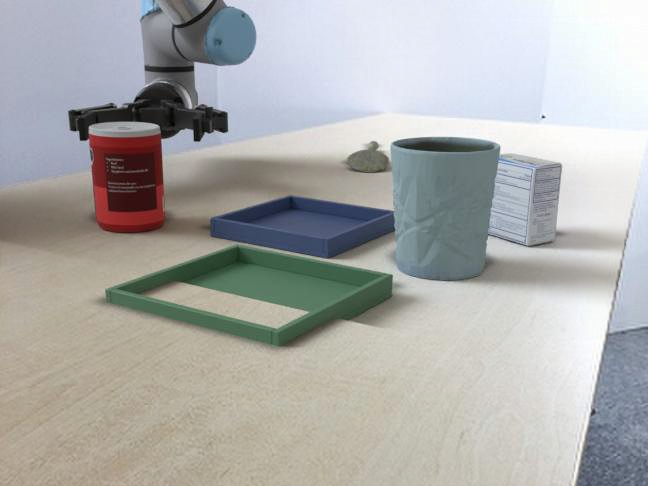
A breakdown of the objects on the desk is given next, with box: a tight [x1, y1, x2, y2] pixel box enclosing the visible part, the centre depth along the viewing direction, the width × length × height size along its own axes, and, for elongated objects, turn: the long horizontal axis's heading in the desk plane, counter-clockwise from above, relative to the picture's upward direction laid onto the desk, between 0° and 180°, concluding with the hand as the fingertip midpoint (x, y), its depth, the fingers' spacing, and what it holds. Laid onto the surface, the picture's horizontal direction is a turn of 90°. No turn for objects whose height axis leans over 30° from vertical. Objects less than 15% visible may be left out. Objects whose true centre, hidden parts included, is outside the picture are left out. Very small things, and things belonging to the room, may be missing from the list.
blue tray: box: [209, 194, 395, 259], centre depth 95 cm, size 15×15×2 cm
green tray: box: [104, 243, 394, 347], centre depth 72 cm, size 17×17×2 cm
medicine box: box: [488, 152, 563, 247], centre depth 94 cm, size 8×4×9 cm, turn 34°
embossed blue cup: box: [389, 136, 501, 281], centre depth 81 cm, size 10×10×12 cm
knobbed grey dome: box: [346, 140, 390, 173], centre depth 140 cm, size 22×3×7 cm
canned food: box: [88, 122, 166, 234], centre depth 95 cm, size 8×8×11 cm
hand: (139, 129), depth 102 cm, fingers open, 13 cm apart
